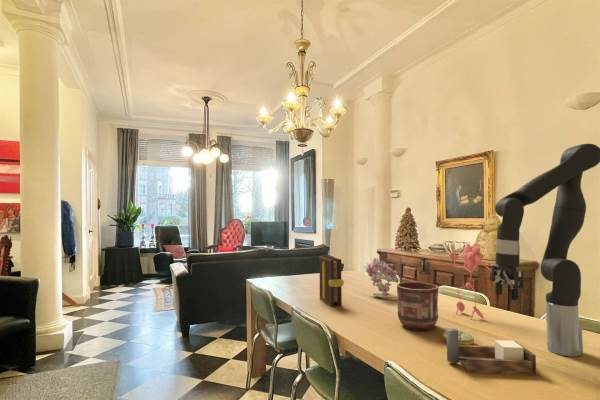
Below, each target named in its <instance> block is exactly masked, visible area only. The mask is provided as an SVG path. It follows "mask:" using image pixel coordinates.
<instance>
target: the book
mask: <svg viewBox="0 0 600 400" xmlns="http://www.w3.org/2000/svg"><path fill="white" fill-rule="evenodd" d="M318 259H319V261H318V262H319V270H318V271H319V300H320V301H322V302H323V303H325V304H327V305H328V306H329V307H331V308H333V307H334V308H335V305H337V306H338V307H341V306H342V305H343V301H342V295H343V293H342V291H343V290H342V287H343V286H344V282H345V281H344V279H342V259H341V258H338V257H335V256H331V255H319V257H318Z"/></svg>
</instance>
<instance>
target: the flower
mask: <svg viewBox="0 0 600 400" xmlns="http://www.w3.org/2000/svg"><path fill="white" fill-rule="evenodd" d="M389 266H390V264H389V263H386V262H385V261H383V260H381V258H380V257H378V258H376V257H374V258H373V259H372V262H370V263H369V262H366V265H363V266H362V268H364V269H365V270H364V272H365V273H367V274H368V276H369V277H370V280H371V282H372V286H373V287H377V289H378V292H380V293H378V292H375V293H373V295H372V297H374V296H377V297H379V298H382V299H386V297H387V294H388V292H389V291H390V286H392V285H393V284H392V283H391V282H393V281H394V282H395V281H398V282H401V279H399V278H398V272H397V270H395V269H394V270H393V268H391V267H389ZM382 279H384V280H385V281H386V282H384V283H383V282H382V281H383V280H382ZM381 292H382V294H381Z"/></svg>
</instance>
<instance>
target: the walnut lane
mask: <svg viewBox="0 0 600 400" xmlns="http://www.w3.org/2000/svg"><path fill="white" fill-rule="evenodd" d="M514 341H515V342H516V343H517V344H519V345H520V346H522V347H523V353H524V360H510V359H495V345H494V346H493V345H459V357H468V358H466V361H459V363H460V364H461V366H462V367H463V369H465V371H466V372H467V373H468V372H470V373H471V374H473V373H474V374H492V373H493V375H495V374H497V375H498V374H499V375H516V374H527V375H526V376H537V360H536V359H537V358H536V357H537V356H536V354H535V353H533V352H532V351H530V350H528V349H527V348H526V347H525V346H523V345H522V344H520V343H519V342H517V341H516V340H514ZM484 358H494V359H484Z"/></svg>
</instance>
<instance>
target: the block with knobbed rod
mask: <svg viewBox="0 0 600 400" xmlns="http://www.w3.org/2000/svg"><path fill="white" fill-rule="evenodd" d="M446 331H447V342H446V360H447V361H448V362H449V363H452V364H458V363H460V362H459V361H466V358H468V357H459V338H458V331H459V330H458V329H457V328H453V327H448V328H446ZM446 331H445V332H446ZM515 341H516V340H505V339H504V340H502V339H501V340H500V339H498V340H497V339H495V340H494V346H495V359H510V360H524V353H523V347H524V346H523V345H522V346H523V347H522V346H520V345H521V344H520V343H519V344H520V345H519V344H517V343H518V342H517V341H516V342H517V343H516V342H515ZM484 359H494V358H484Z"/></svg>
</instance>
